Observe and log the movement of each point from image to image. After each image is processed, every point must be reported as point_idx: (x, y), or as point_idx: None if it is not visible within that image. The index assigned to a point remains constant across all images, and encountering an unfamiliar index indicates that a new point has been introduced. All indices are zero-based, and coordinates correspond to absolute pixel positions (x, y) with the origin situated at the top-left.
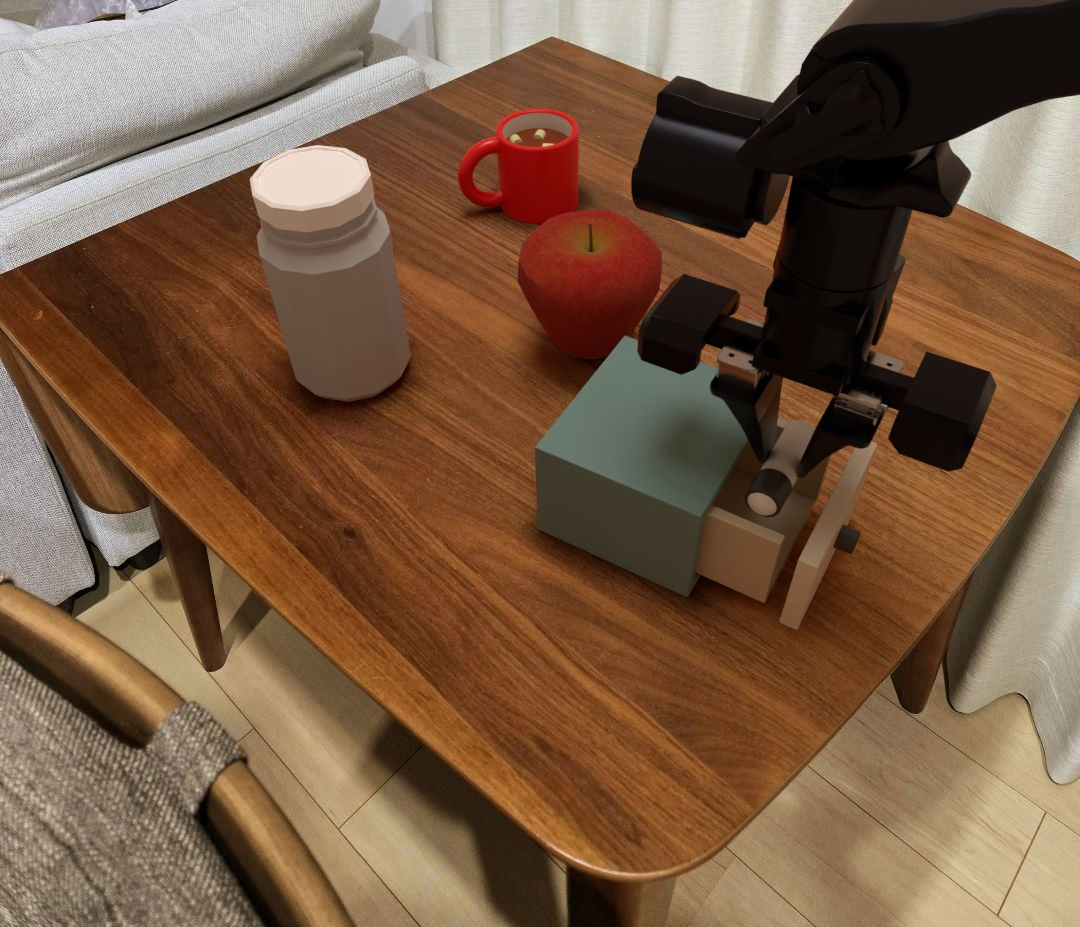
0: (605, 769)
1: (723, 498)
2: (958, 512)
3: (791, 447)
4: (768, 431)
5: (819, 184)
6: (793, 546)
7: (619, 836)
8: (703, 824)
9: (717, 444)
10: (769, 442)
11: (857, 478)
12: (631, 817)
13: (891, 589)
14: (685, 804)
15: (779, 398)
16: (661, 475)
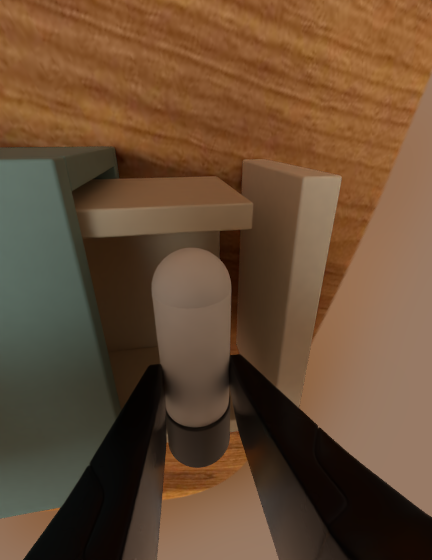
0: (172, 466)
1: (106, 262)
2: (391, 61)
3: (201, 373)
4: (157, 488)
5: None
6: None
7: (201, 480)
8: (241, 455)
9: (56, 396)
10: (163, 436)
11: (316, 289)
12: (202, 472)
13: None
14: (226, 454)
15: (135, 514)
16: (28, 484)
